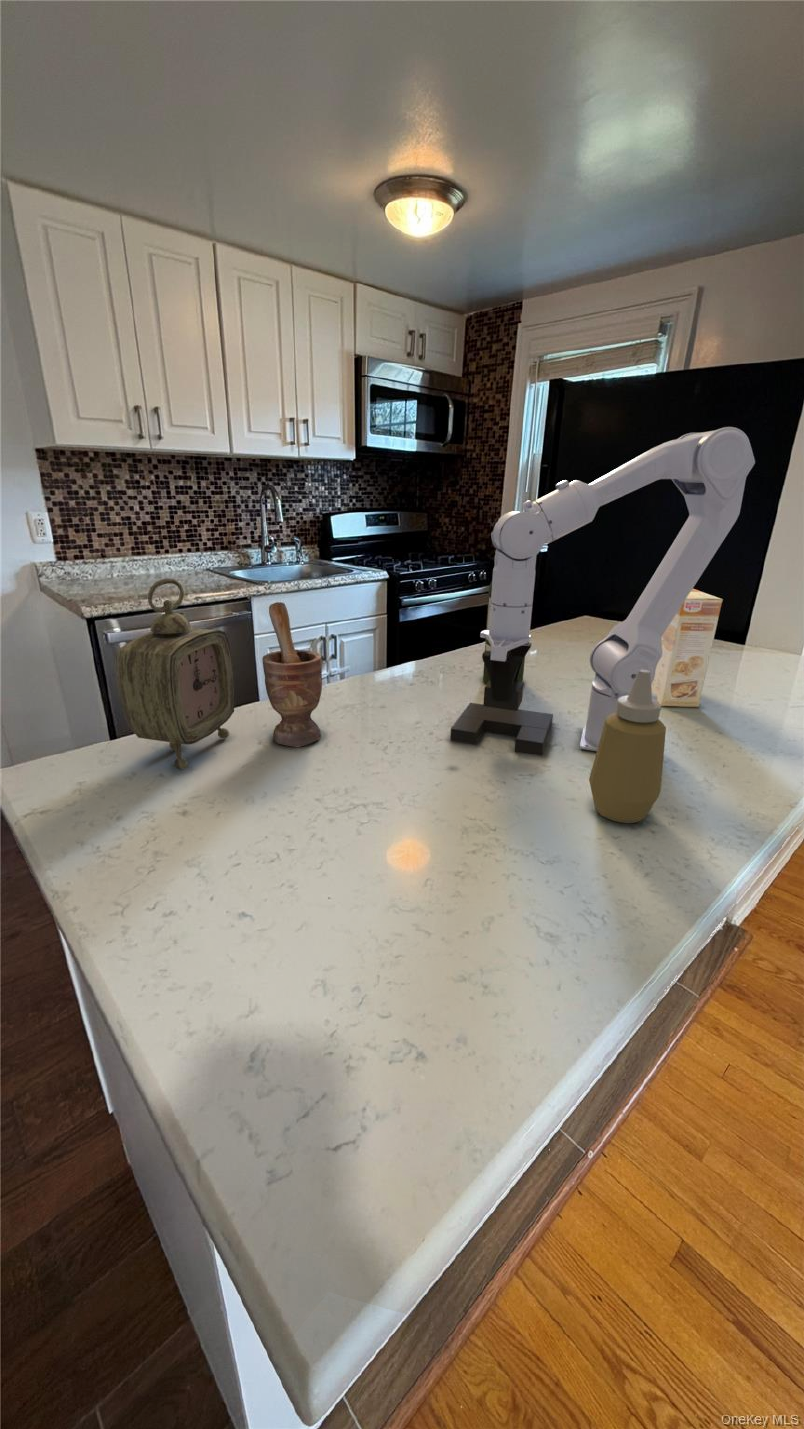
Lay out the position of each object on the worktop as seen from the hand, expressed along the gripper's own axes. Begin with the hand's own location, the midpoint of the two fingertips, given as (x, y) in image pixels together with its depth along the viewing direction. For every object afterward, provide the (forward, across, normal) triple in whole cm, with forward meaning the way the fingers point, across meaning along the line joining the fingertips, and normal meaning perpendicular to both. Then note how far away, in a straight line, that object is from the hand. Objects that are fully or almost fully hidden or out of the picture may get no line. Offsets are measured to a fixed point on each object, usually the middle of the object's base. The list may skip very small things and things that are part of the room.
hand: (503, 694), depth 84 cm
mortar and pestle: (+8, +9, -31) cm, 34 cm away
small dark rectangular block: (+1, 0, 0) cm, 1 cm away
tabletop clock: (+8, +20, -42) cm, 47 cm away
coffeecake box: (+8, -34, +25) cm, 43 cm away
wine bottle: (+8, -29, -5) cm, 31 cm away
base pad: (+8, -4, 0) cm, 9 cm away
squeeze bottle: (+8, +14, +18) cm, 24 cm away
